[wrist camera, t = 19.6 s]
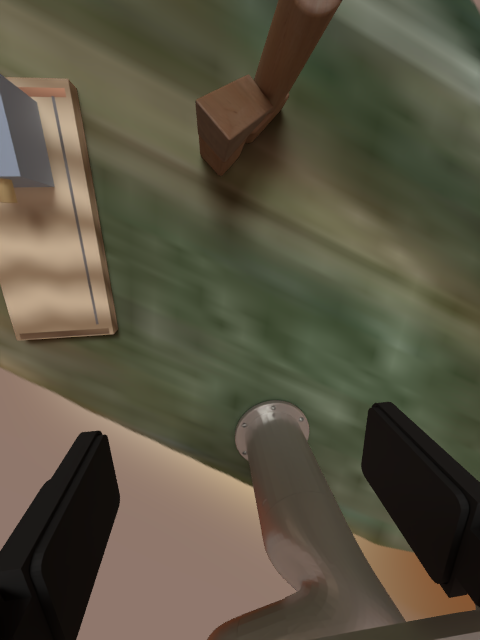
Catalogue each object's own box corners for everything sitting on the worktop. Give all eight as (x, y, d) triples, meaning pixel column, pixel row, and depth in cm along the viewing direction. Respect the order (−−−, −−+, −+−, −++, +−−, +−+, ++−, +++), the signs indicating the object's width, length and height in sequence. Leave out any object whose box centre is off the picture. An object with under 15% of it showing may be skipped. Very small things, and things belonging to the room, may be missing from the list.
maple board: (118, 329, 39) (113, 334, 37) (26, 335, 37) (17, 340, 35) (76, 88, 30) (67, 78, 28) (-44, 86, 29) (-62, 75, 27)
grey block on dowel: (58, 206, 32) (26, 199, 26) (11, 207, 31) (-32, 200, 25) (31, 78, 28) (-13, 39, 22) (-22, 77, 27) (-82, 36, 22)
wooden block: (198, 154, 33) (191, 71, 16) (261, 81, 32) (324, -93, 15) (220, 178, 34) (235, 124, 17) (282, 109, 33) (364, -24, 16)
